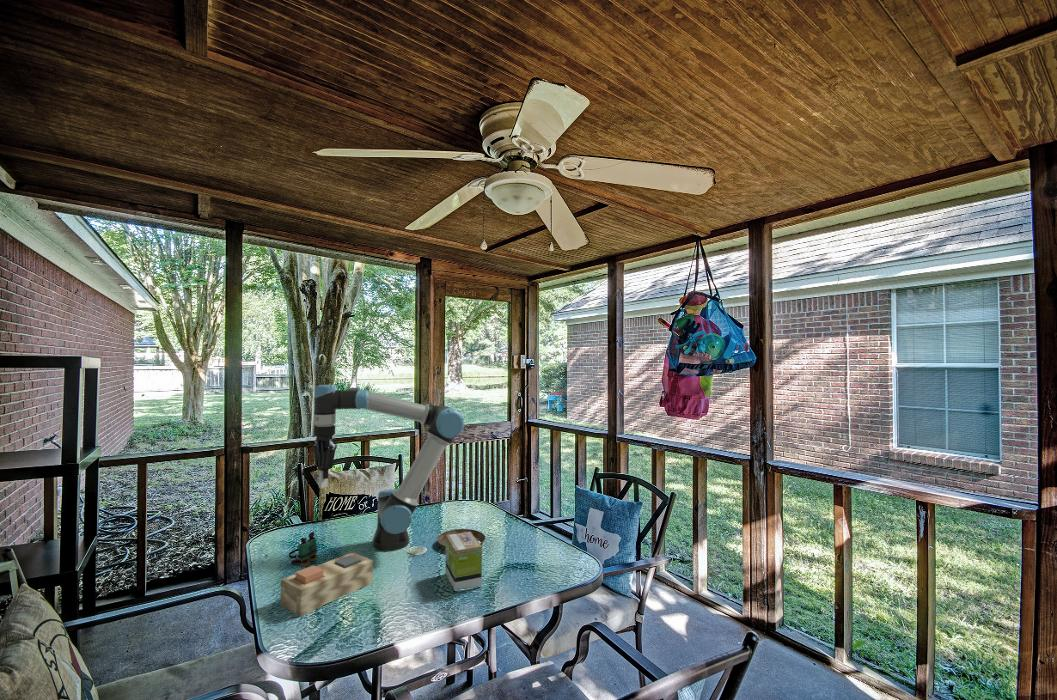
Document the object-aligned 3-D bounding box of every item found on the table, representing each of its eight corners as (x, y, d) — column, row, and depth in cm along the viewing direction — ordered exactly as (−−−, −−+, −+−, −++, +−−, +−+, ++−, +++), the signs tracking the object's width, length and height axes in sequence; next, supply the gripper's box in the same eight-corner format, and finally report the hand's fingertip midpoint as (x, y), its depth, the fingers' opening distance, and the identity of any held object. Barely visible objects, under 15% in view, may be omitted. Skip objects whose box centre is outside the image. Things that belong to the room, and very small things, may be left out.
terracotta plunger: (312, 589, 150) (313, 565, 151) (322, 595, 147) (323, 570, 147) (294, 597, 145) (295, 572, 146) (304, 603, 142) (305, 577, 142)
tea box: (444, 574, 167) (445, 534, 168) (470, 569, 171) (471, 530, 172) (454, 593, 154) (455, 549, 154) (482, 588, 157) (483, 545, 158)
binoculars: (298, 531, 181) (320, 531, 179) (299, 558, 181) (321, 558, 179) (282, 539, 172) (304, 539, 171) (283, 567, 172) (306, 568, 170)
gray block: (349, 577, 162) (350, 555, 162) (359, 582, 159) (360, 559, 159) (334, 584, 157) (334, 561, 157) (344, 589, 154) (345, 565, 154)
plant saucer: (494, 547, 193) (494, 540, 193) (450, 559, 181) (450, 551, 181) (471, 532, 209) (471, 525, 209) (429, 542, 197) (429, 534, 198)
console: (351, 574, 166) (352, 552, 166) (372, 583, 159) (373, 560, 160) (280, 604, 145) (281, 579, 145) (300, 616, 138) (301, 590, 138)
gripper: (305, 424, 174) (304, 486, 173) (325, 427, 167) (324, 492, 166) (323, 422, 180) (322, 482, 179) (343, 425, 173) (342, 487, 172)
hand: (323, 486), depth 173 cm, fingers closed
